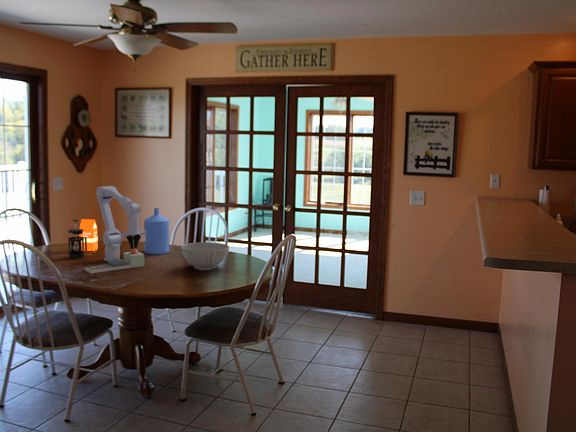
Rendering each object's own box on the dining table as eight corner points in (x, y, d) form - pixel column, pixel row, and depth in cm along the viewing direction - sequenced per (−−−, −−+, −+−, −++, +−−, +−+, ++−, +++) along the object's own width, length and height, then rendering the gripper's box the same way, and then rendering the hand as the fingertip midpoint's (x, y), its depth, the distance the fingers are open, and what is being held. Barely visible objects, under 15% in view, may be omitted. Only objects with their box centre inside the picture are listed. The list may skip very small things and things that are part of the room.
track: (84, 270, 307) (84, 257, 306) (136, 262, 327) (136, 251, 326) (91, 273, 300) (90, 260, 299) (144, 266, 319) (144, 254, 318)
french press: (72, 260, 330) (70, 221, 327) (64, 257, 336) (62, 219, 333) (90, 257, 339) (89, 219, 335) (82, 254, 345) (81, 217, 341)
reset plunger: (129, 256, 320) (129, 249, 319) (135, 255, 322) (135, 249, 322) (132, 257, 317) (132, 250, 317) (138, 257, 319) (138, 250, 319)
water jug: (174, 251, 360) (174, 208, 356) (156, 255, 347) (156, 210, 343) (157, 248, 368) (156, 206, 364) (138, 252, 355) (138, 208, 351)
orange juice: (93, 252, 354) (92, 220, 351) (79, 251, 354) (78, 220, 351) (97, 249, 361) (97, 218, 359) (84, 249, 362) (83, 218, 359)
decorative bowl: (221, 274, 304) (221, 252, 302) (173, 271, 309) (173, 249, 307) (234, 263, 330) (234, 243, 328) (190, 261, 335) (190, 241, 333)
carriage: (108, 263, 314) (108, 252, 313) (118, 261, 318) (118, 251, 317) (113, 265, 309) (113, 254, 308) (123, 264, 313) (123, 253, 312)
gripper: (124, 226, 309) (124, 251, 311) (148, 224, 319) (148, 248, 321) (118, 225, 315) (119, 248, 317) (142, 222, 324) (143, 246, 326)
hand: (133, 248), depth 319 cm, fingers closed
